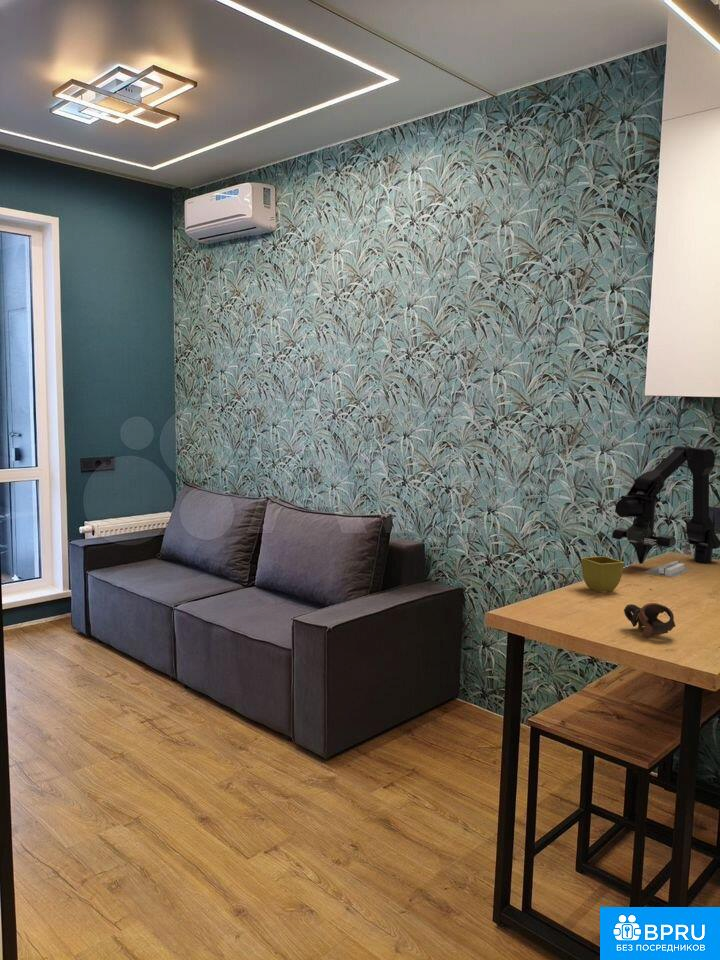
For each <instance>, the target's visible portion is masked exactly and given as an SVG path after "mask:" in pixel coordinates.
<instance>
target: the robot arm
mask: <svg viewBox="0 0 720 960" xmlns="http://www.w3.org/2000/svg"><path fill="white" fill-rule="evenodd" d="M685 462H686V464H687V467H688V469H689V471H690V472H691V475H692V517H691V518H690V519H689V521H686V523H685V527H686V528H685V529H686V531H685V534H686V536H687V540H688V544H689V545H694V549H693V561H694V563H698V564H712V562H713V553H714V551H713V550H716V549H719V548H720V538H719V536H718V535H717V534H716V530H715V529H716V528H715V524H714V522H713V521H712V519H711V518H710V474H711V472H712V471H713V469H714V468H715V462H716V453H715V451H713V450H712V449H711V448H702V447H690V446H685V445H678V446H675V448H674V449H673V451H672V452H671V453H670V454H669V455H668V456H667V457H665V458H664V460H662V461H661V462H659V464H658V465H657V466H656V467H655V468H653V469H652V470H650V471H647V472H644V473H642V474H641V475H639V476H638V477H636V478H635V480H634V483H633V484H632V486H631V488H630V489H629V491H628V493H627V494H626V495H621V497H620V498H621V499H619V500H618V501H617V503H616V505H615V507H614V508H615V513H616V515H617V516H618V517H620V518H621V519H622V518H631V517H632V518H633V517H635V518H633V521H632V525H630V526H629V527H628V528H622V527H619V528H616V529H614V530H613V531H612V533H611V538H612V539H615V540H622V539H623V538H626V540H627V541H628V543H629V544H631V545H632V547H634V550H635V553H636V556H637V561H638V563H639V564H641V565H643V564H644V563H645V561H646V559H647V558H648V555H649V553H650V551H651V550H652V548H654V546H659V547H664V548H670V547H674V546H676V542H677V540H676V537H675V536H674V535H668V534H662V535H658V536H657V535H656V534H655V530H654V527H655V523H656V521H657V520H656V519H655V514H656V503H660V502H661V498H660V497H658V494H660V492H661V491H662V490H663V488H664V487H665V481H666V480H667V479H669V477H670V476H672V475H673V474H674V473H675V472H676V471H677V470H678V469H679V468H680V467H681V466H682V465H683V464H684V463H685Z"/></svg>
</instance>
